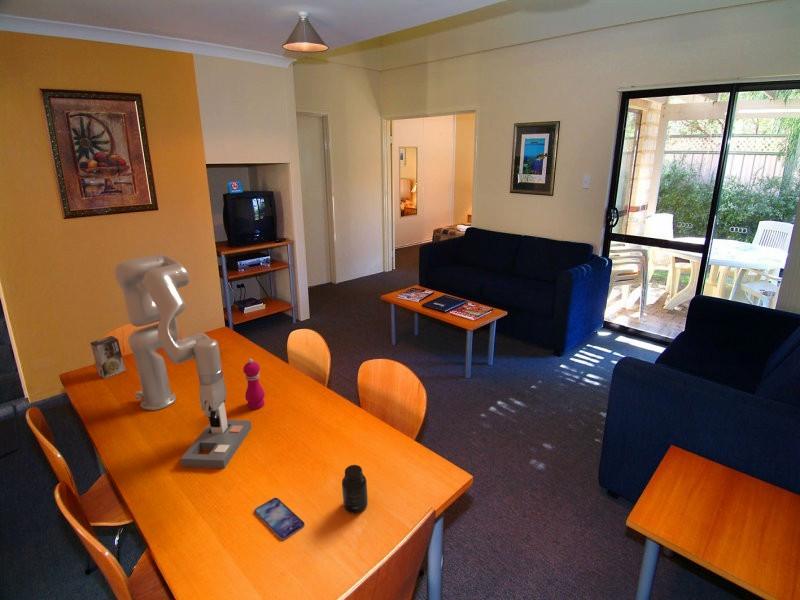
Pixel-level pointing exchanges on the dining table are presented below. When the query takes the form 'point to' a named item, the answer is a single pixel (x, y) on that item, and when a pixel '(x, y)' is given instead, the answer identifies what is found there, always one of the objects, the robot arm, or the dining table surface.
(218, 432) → the plug
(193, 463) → the socket board
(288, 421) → the dining table surface
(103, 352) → the coffee box
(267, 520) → the smartphone
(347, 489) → the supplement bottle
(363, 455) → the dining table surface
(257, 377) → the pepper mill
